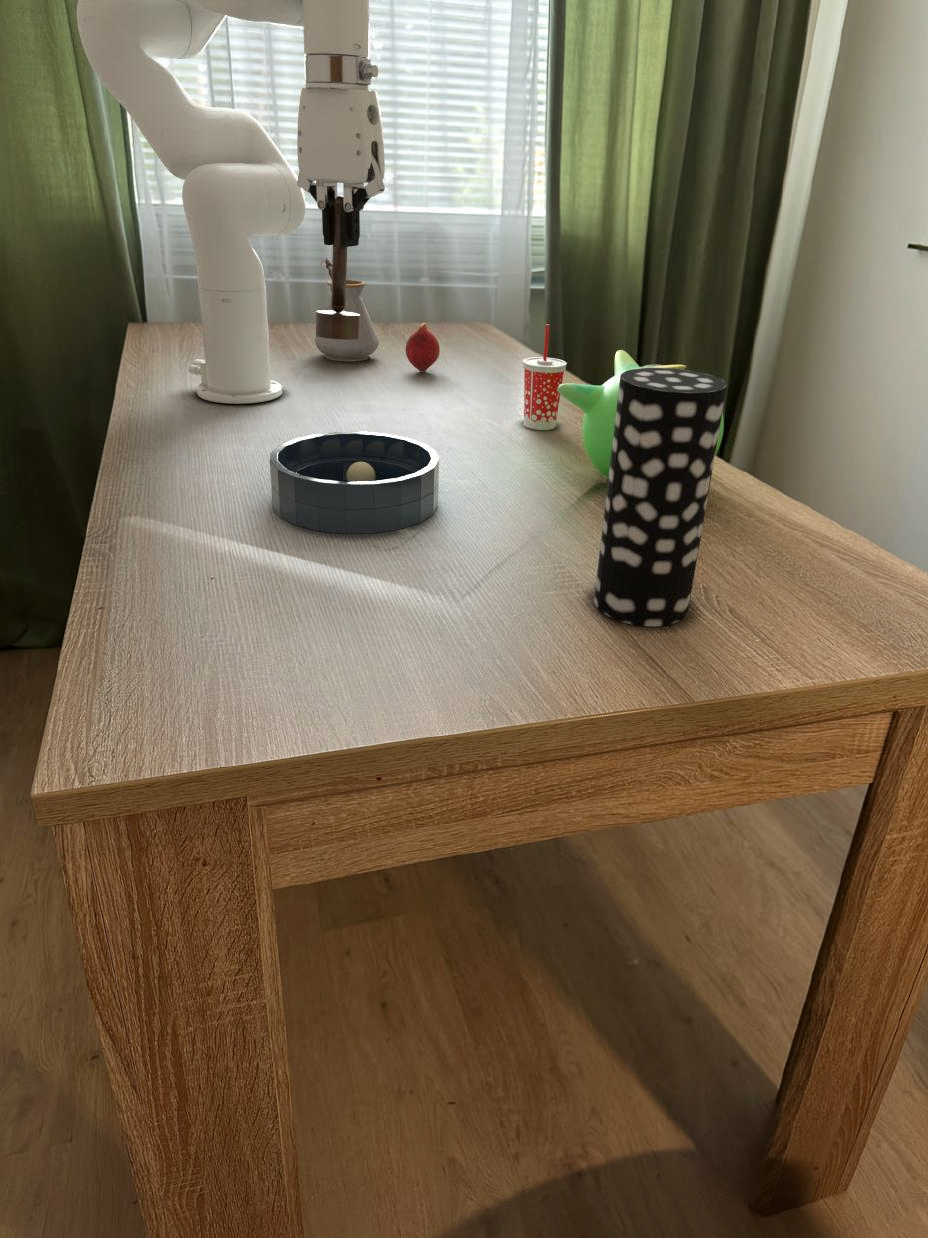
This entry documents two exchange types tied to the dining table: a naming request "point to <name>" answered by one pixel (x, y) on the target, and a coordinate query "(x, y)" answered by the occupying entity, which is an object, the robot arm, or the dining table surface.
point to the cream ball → (360, 473)
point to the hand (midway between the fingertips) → (341, 243)
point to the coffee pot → (367, 334)
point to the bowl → (328, 503)
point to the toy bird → (606, 410)
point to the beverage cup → (542, 389)
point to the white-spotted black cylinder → (657, 493)
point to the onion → (422, 348)
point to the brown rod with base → (338, 291)
